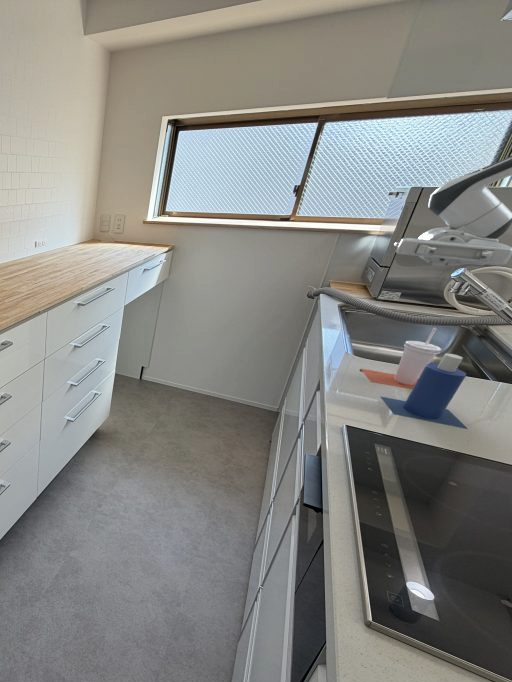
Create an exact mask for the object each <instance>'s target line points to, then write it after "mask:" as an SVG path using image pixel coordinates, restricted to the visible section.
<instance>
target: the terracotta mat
mask: <svg viewBox="0 0 512 682" xmlns="http://www.w3.org/2000/svg"><path fill="white" fill-rule="evenodd" d="M359 371H360V372H361V373H363V374H364V375H365V377H366V378H367V379H368V380H369V382H371V383H375V384H380V385H386V386H392V387H397V388H403V389H408V390H412V389H413V388H414V386H415V384H416V382H417V380H418V379H419V378H418V379H417V380H416V382H415V383H414V384H413V385H407V384H403V383H400V382H397V381H395V380H394V378H395V375H396V373H389V372H383V371H378V370H373V369H365V368H360V369H359Z"/></svg>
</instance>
